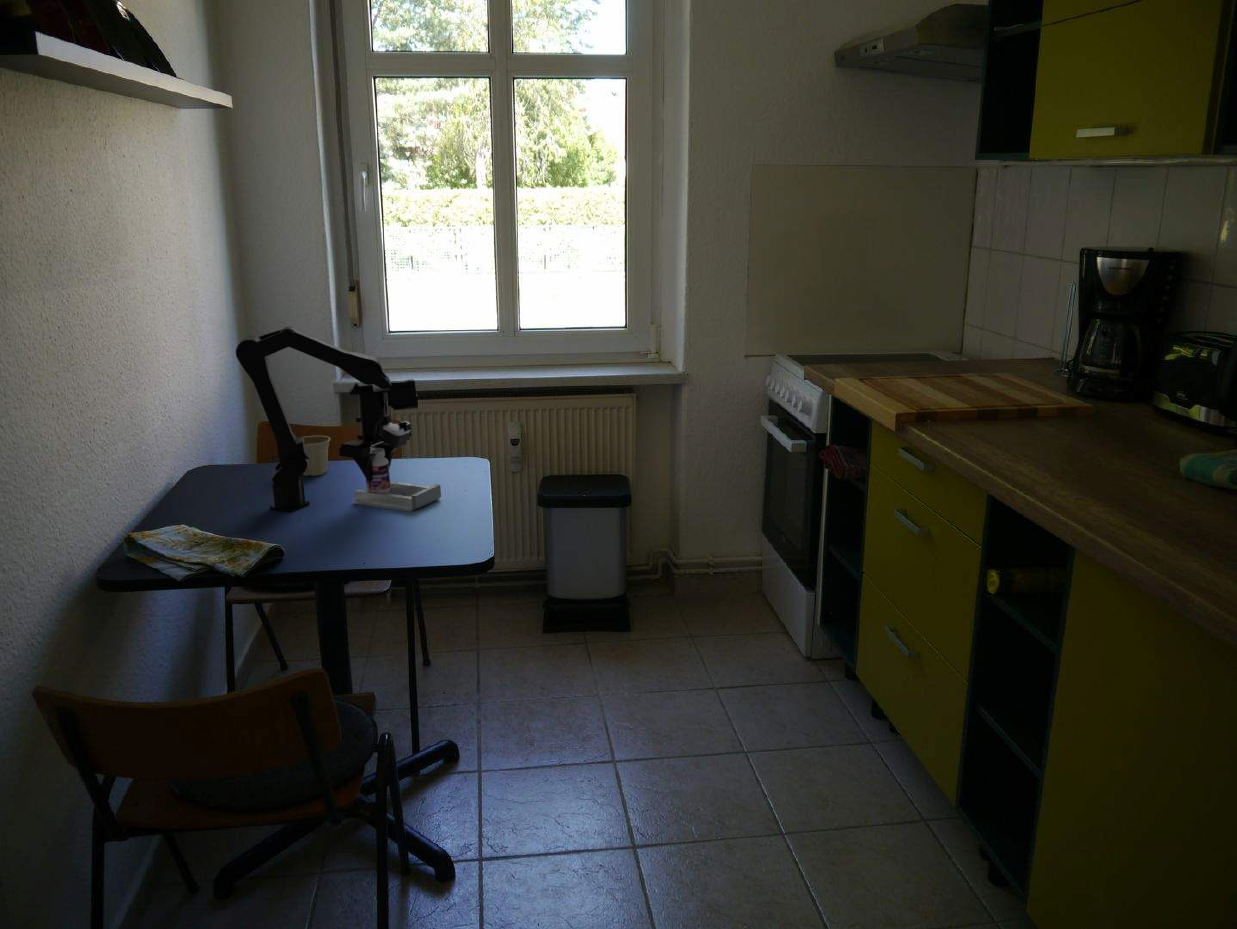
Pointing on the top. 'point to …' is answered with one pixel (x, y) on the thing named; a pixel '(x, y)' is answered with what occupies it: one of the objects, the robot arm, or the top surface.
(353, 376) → the robot arm
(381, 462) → the pill bottle
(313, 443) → the flower pot
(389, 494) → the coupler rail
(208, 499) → the top surface
